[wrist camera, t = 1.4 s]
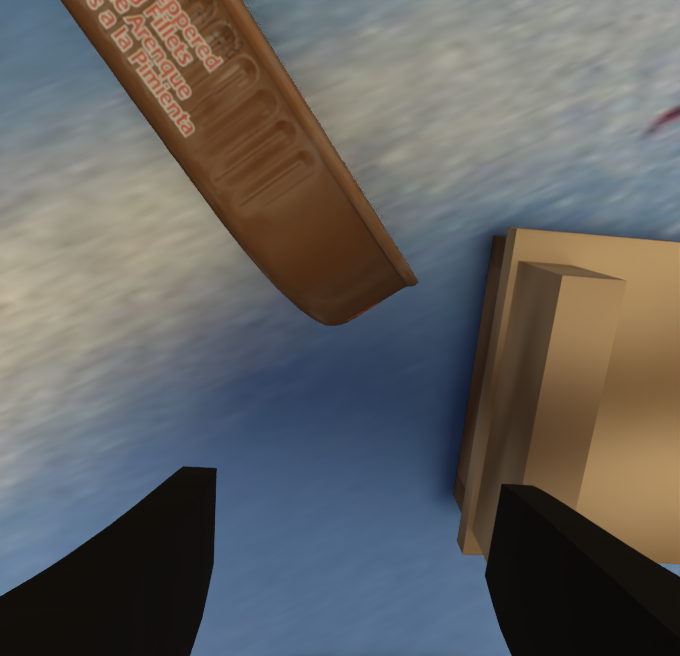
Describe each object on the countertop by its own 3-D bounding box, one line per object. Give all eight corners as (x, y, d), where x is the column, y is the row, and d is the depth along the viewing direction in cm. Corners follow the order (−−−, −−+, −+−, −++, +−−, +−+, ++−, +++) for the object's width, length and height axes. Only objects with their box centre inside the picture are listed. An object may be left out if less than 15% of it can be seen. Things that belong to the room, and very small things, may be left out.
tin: (401, 254, 18) (471, 305, 10) (325, 304, 18) (333, 393, 10) (117, -198, 15) (-130, -690, 6) (30, -126, 15) (-312, -509, 7)
